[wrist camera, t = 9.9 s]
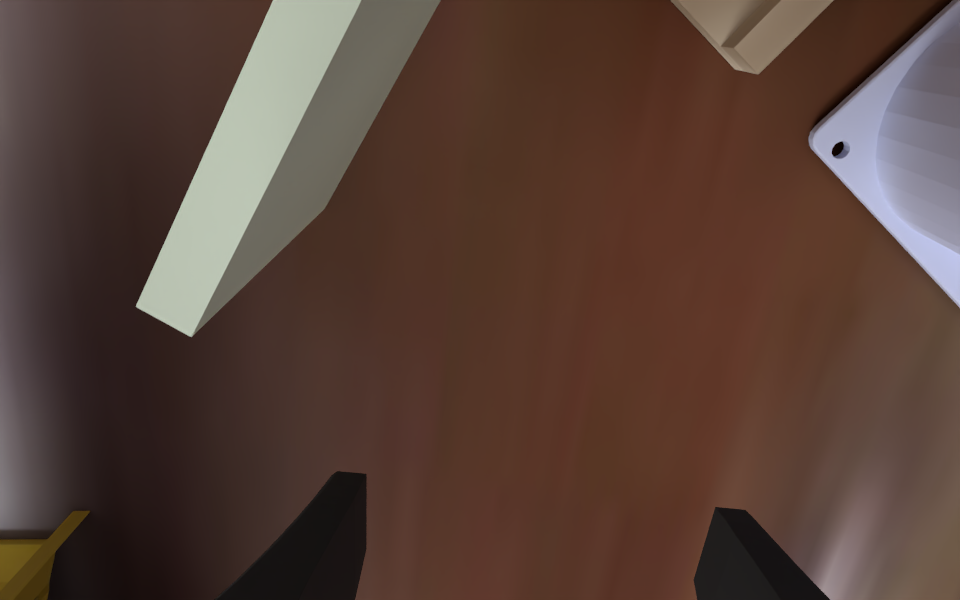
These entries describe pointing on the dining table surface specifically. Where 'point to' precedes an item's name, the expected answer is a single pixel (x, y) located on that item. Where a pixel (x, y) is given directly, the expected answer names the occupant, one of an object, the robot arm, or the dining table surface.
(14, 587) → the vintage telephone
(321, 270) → the dining table surface
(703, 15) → the offcut rack
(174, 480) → the dining table surface
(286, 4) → the sheet
